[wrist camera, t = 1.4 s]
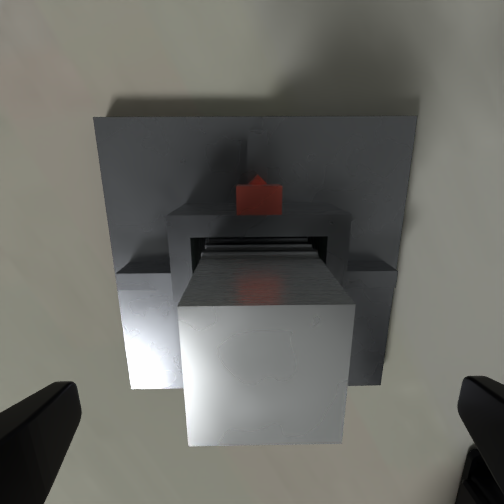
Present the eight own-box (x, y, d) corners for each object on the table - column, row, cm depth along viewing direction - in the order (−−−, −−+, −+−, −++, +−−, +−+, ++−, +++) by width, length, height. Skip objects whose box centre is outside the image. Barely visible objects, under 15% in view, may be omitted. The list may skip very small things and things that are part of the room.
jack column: (300, 228, 14) (359, 301, 7) (297, 308, 15) (344, 446, 8) (212, 229, 14) (173, 303, 7) (215, 309, 15) (185, 448, 8)
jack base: (405, 119, 14) (475, 99, 10) (373, 373, 18) (413, 439, 14) (103, 120, 14) (38, 100, 10) (137, 376, 18) (102, 444, 14)
